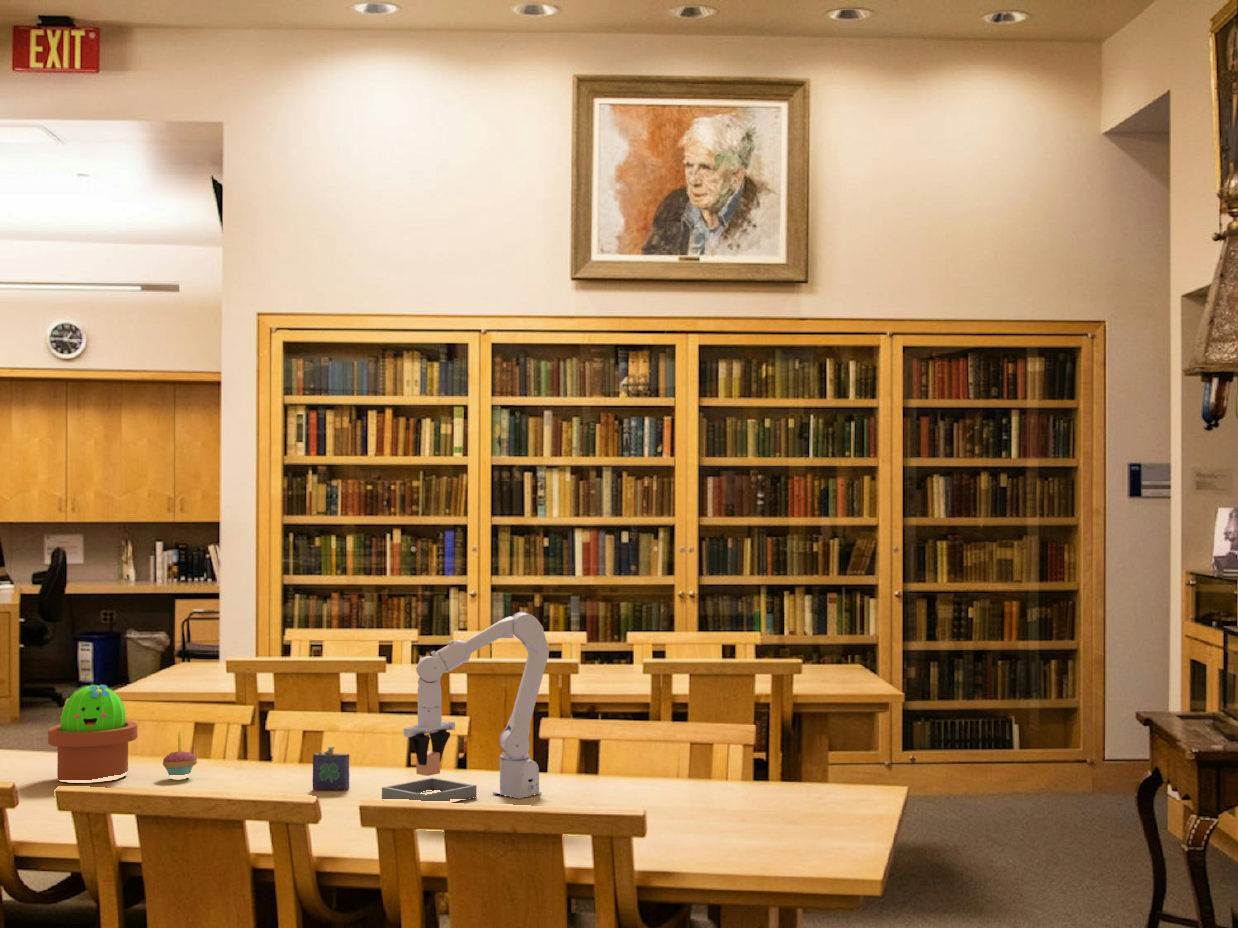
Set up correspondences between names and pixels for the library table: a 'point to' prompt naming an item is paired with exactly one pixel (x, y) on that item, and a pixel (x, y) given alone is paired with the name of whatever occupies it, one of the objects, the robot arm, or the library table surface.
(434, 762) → the block
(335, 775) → the flask
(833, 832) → the library table surface
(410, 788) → the bin
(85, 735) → the potted cactus
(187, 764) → the cupcake
